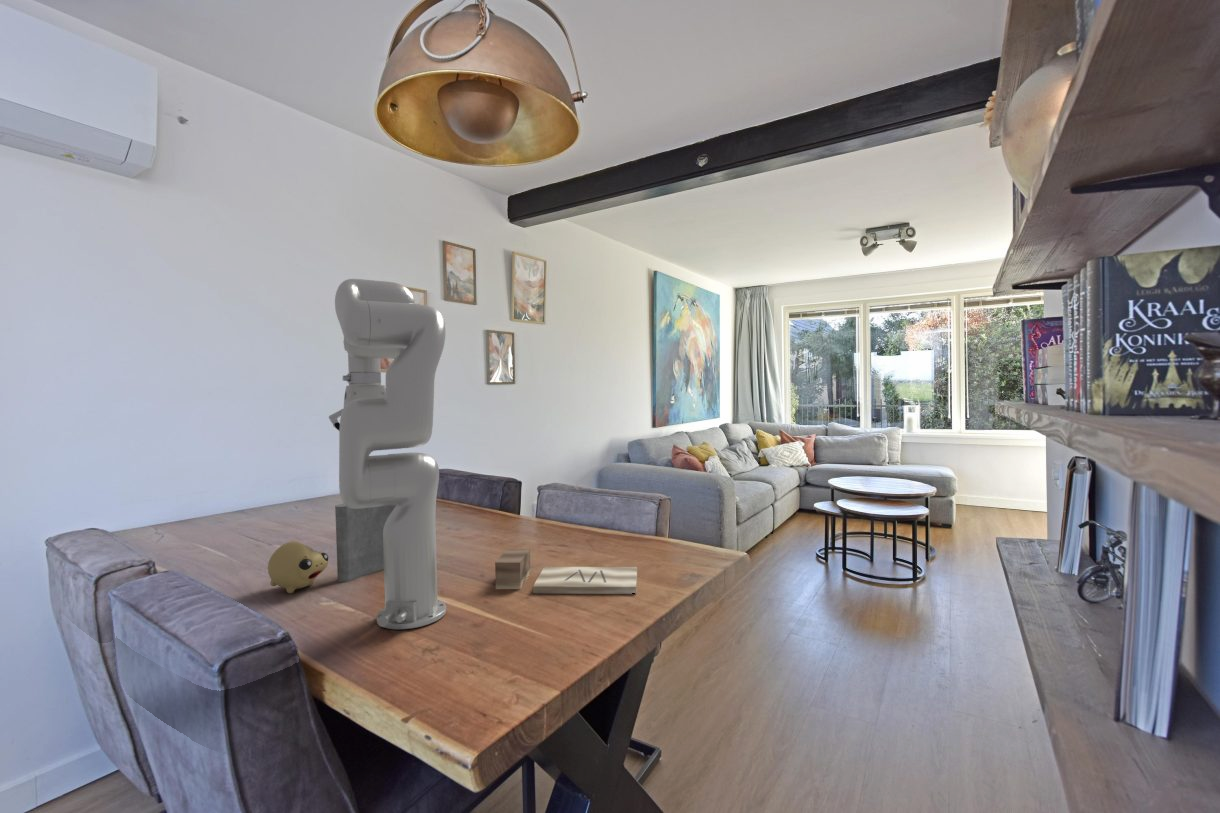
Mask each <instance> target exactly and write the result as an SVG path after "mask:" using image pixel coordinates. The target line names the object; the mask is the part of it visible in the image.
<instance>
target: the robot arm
mask: <svg viewBox="0 0 1220 813" xmlns="http://www.w3.org/2000/svg"><path fill="white" fill-rule="evenodd" d="M334 296H335V297H334V308H335V309H334V310H335V314H336V317H337V320H338V323H339V326H340V329H341V332H342V335H343V349H344V351H346V353H347V361H348V362H347V363H348V364H347V365H348V372H347V374H346V375H342V381H344V382H345V381H346V382H347V384H348V385H346V386H345V392H344V396H343V408H342V409H340V410H338V411H336V412H334V413H332V414H330V415H329V416H328V419H329V421H330V423H331V424H332V426H333V428H335V429H336V430H337V431H338V433H339V434H338V435H339V436H338V441H339V443H338V444H339V446H338V448H339V450H338V453H339V454H338V455H339V456H338V459H339V460H338V461H339V462H338V482H339V483H338V484H339V485H338V488H339V489H338V490H339V495H340V500H341V502H342V504H344V505H345V506H347V507H348V508H352V509H363V508H372V507H380V506H388V505H396V507H395V508H394V510H393V511H392V512H391V514H390V515H389V517H388V518H387V520H386V522H385V525H384V529H383V551H384V570H383V575H384V576H383V579H384V580H383V581H384V584H383V585H384V607H382V608H381V609H380V610H379V611H378V613H377V614H376V623H377V625H378V627H380V628H381V627H382V628H385V629H390V630H410V629H416V628H420V627H424V626H427V625H430V624H433V623H435V622H438V621H439V620H440V619H441V618H443V617H444V615H446V613H447V606H446V603H445V602H443V601H442V600H440V599H438V572H437V569H438V567H437V565H438V564H437V529H436V527H437V526H436V525H437V524H436V512H437V511H436V508H437V496H438V489H439V482H440V468H439V465H438V462H437V461H436V459H435V458H434V457H433V456H431V455H430V454H428V453H423V452H400V453H399V452H398V453H388V454H379V455H378V454H377V455H371V453H372V452H376V451H387V450H399V449H400V450H402V449H410V448H412V449H413V448H418V447H421V446H425V445H426V444H427V443H429V441H430V440H431V437H432V434H433V427H434V426H433V425H434V406H435V405H434V403H435V402H434V401H435V400H434V398H435V378H436V373H437V368H438V365H439V363H440V360H441V357H442V354H443V350H444V347H445V343H446V342H445V341H446V322H445V319H444V316H443V314H442V313H441V312H440V311H439V310H438V309H437V308H434V307H432V306H429V305H425V304H419V303H418V304H417V303H415V298H414V295H413V293H412V292H411V291H410V289H409V288H407V287H406V286H405V285H403V284H400V283H396V282H394V281H386V280H385V281H384V280H372V279H371V280H370V279H360V278H349V279H345V280H343V281H342V282H340V284H339V286H338V287H337V290H336V292H335V295H334ZM381 359H390V360H391V359H392V362H391V363H390V365H388V367H387V369H386V371H385V385H384V384H383V385H382V374H381V373H382V370H381V369H382V367H381V365H382V364H381ZM338 418H340V419H339V420H338Z"/></svg>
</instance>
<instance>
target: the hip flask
mask: <svg viewBox="0 0 1220 813" xmlns="http://www.w3.org/2000/svg"><path fill="white" fill-rule="evenodd" d="M395 507H396V505H388V506H380V507H372V508H363V509H352V508H348V507H347V506H345V505H344V504H343V503H339V504H335V538H336V539H335V541H336V565H337V567H336V570H337V573H336V574H337V582H338V581H339V582H338V583H346V582H350V581H353V580H355V579H359V578H361V577H364V576H366V575H367V576H368V575H370V574H373V573H377V572H380V570H381V571H384V551H383V529H384V525H385V522H386V520H387V518H388V517H389V515H390V514H391V512H392V511H393V510H394V508H395Z"/></svg>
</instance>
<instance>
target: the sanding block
mask: <svg viewBox="0 0 1220 813" xmlns="http://www.w3.org/2000/svg"><path fill="white" fill-rule="evenodd" d="M494 566H495V571H494V572H495V574H494V575H495V590H521V589H522V588H523V586H524V585H525V583H526V582H527V580H528V578H529V577H528V576H530V575H531V549H530V548H529V549H528V548H527V549H525V548H524V549H523V548H521V549H520V548H519V549H518V548H516V549H515V548H510V549H509V548H507V549H506V550H505V551H504V552H503V553H502V554H501V555H500V557H499V558H497V559H496V561H495V562H494ZM529 574H530V575H529ZM527 577H528V578H527ZM526 579H527V580H526ZM525 581H526V582H525ZM524 582H525V583H524ZM523 584H524V585H523ZM522 585H523V586H522ZM521 587H522V588H521Z"/></svg>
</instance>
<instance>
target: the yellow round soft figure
mask: <svg viewBox="0 0 1220 813" xmlns="http://www.w3.org/2000/svg"><path fill="white" fill-rule="evenodd" d="M328 564H329V555H328V554H327V553H325V552H322V551H316V550H314V549H313V548H312V547H310V546H308V545H307V544H304V543H302V542H299V541H295V540H291V541H287V542H285V543H283V544H282V545H280V546H279V547H278V548H277V549H276V550H275V551H274V552H273V553H272V555H271V557H269V560H268V564H267V572H268V576H269V578H270V581H269V582H270V583H269V584H270V586H272V587H276V586H278V587H280V588H283V589H286V592H287V594H293V593H294V592H295V590H299V589H303V588H305V587H307V586H308V587H312V585H313V584H314V581H315V580H316V579H317V577H318V576H319V575H320V574H322V573H323V572H324V571H325V569H326V568H327V567H328Z"/></svg>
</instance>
